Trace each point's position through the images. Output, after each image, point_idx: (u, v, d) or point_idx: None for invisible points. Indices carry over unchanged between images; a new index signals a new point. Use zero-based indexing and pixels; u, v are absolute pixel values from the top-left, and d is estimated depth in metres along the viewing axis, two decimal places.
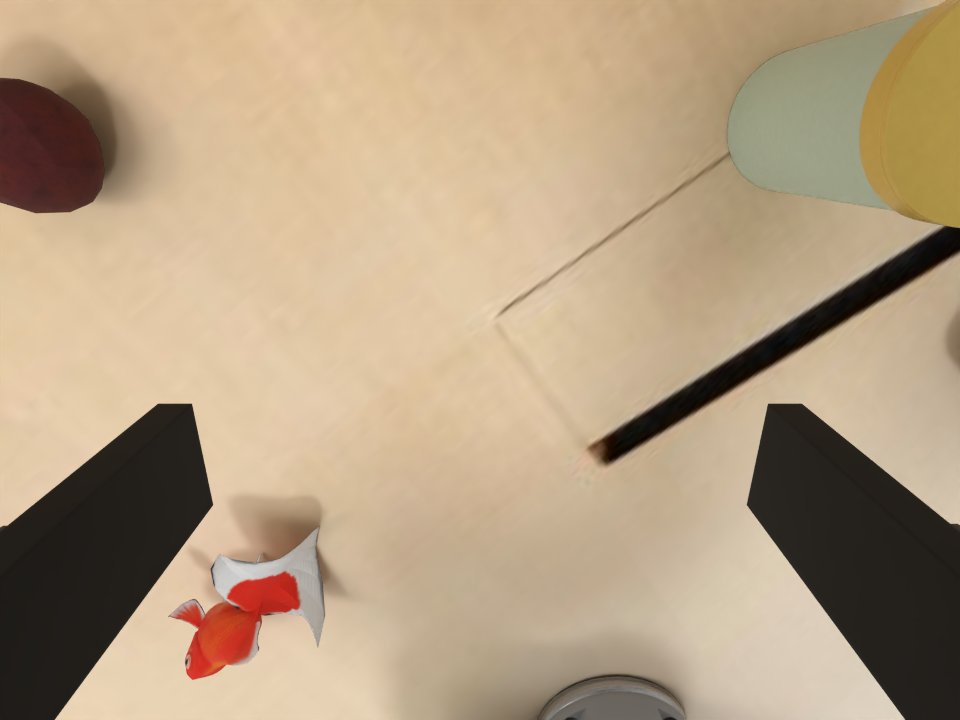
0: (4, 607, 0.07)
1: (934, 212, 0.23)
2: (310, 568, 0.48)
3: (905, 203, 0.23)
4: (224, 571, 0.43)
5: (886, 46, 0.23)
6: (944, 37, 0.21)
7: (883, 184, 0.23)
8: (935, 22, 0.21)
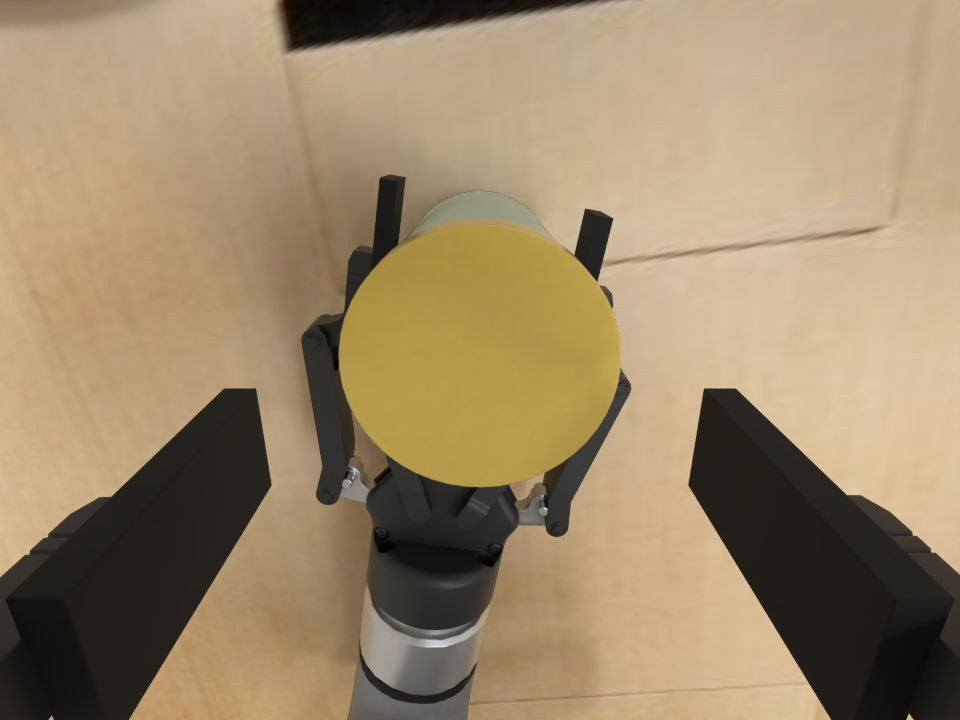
0: (123, 564, 0.08)
1: (589, 288, 0.17)
2: None
3: (613, 314, 0.17)
4: None
5: None
6: (526, 465, 0.19)
7: None
8: None
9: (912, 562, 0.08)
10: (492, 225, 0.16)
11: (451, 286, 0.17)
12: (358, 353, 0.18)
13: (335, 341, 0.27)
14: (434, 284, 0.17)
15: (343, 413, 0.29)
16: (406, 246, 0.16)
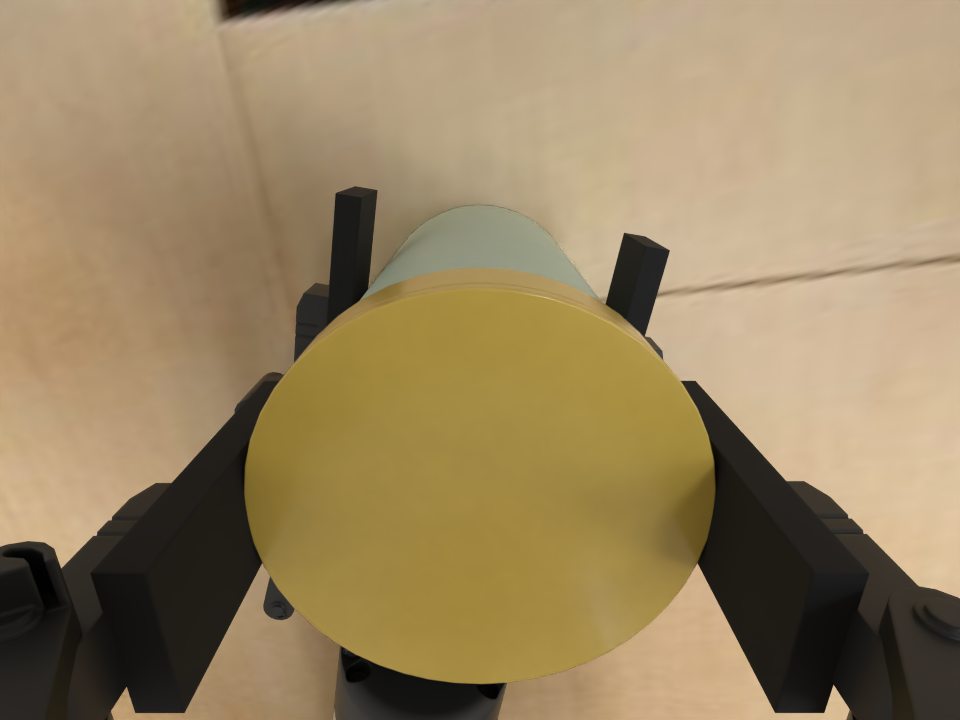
0: (190, 543, 0.09)
1: (668, 394, 0.10)
2: None
3: None
4: None
5: None
6: (553, 655, 0.12)
7: None
8: None
9: (835, 540, 0.08)
10: (502, 289, 0.09)
11: (430, 391, 0.10)
12: (276, 495, 0.11)
13: None
14: (401, 387, 0.10)
15: None
16: (350, 325, 0.09)
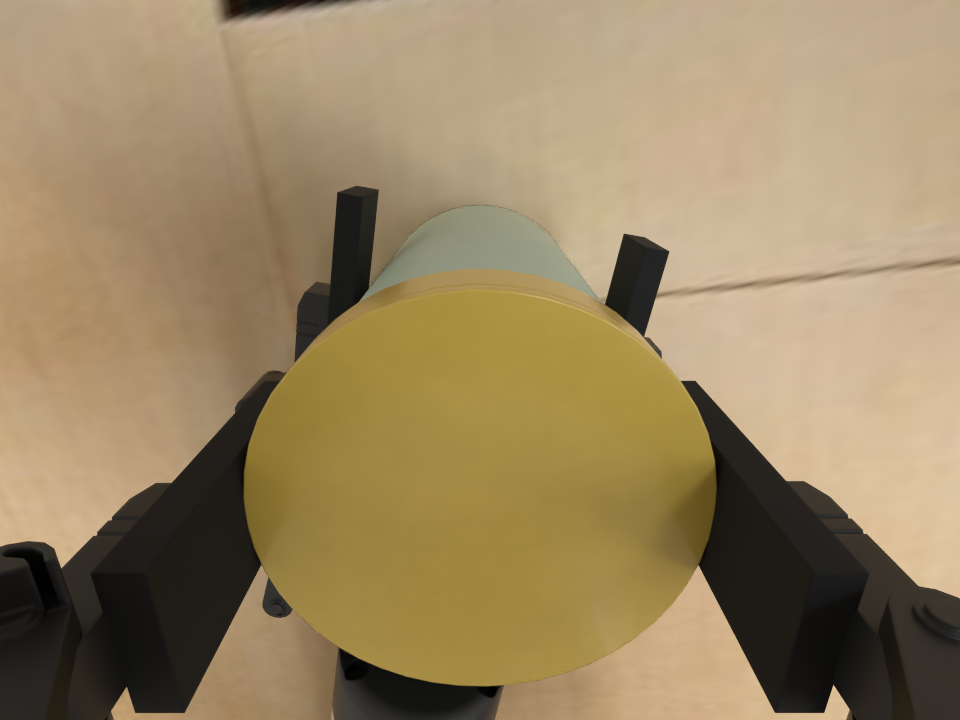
0: (190, 544, 0.09)
1: (285, 404, 0.10)
2: None
3: (315, 344, 0.10)
4: None
5: None
6: (652, 400, 0.10)
7: (368, 305, 0.10)
8: None
9: (835, 540, 0.08)
10: (257, 554, 0.11)
11: (365, 582, 0.11)
12: (506, 664, 0.12)
13: None
14: (370, 602, 0.11)
15: None
16: (332, 641, 0.12)
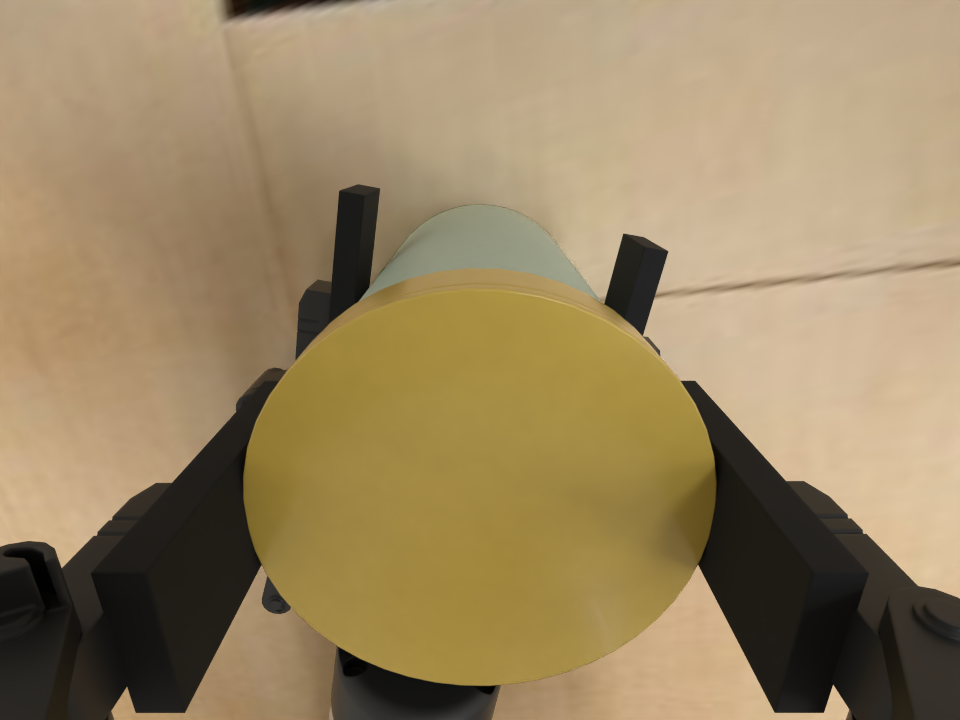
0: (190, 544, 0.09)
1: (414, 669, 0.12)
2: None
3: None
4: None
5: None
6: (295, 415, 0.10)
7: None
8: None
9: (834, 541, 0.08)
10: (573, 668, 0.12)
11: (584, 591, 0.11)
12: (674, 445, 0.10)
13: None
14: (608, 583, 0.11)
15: None
16: (668, 604, 0.12)
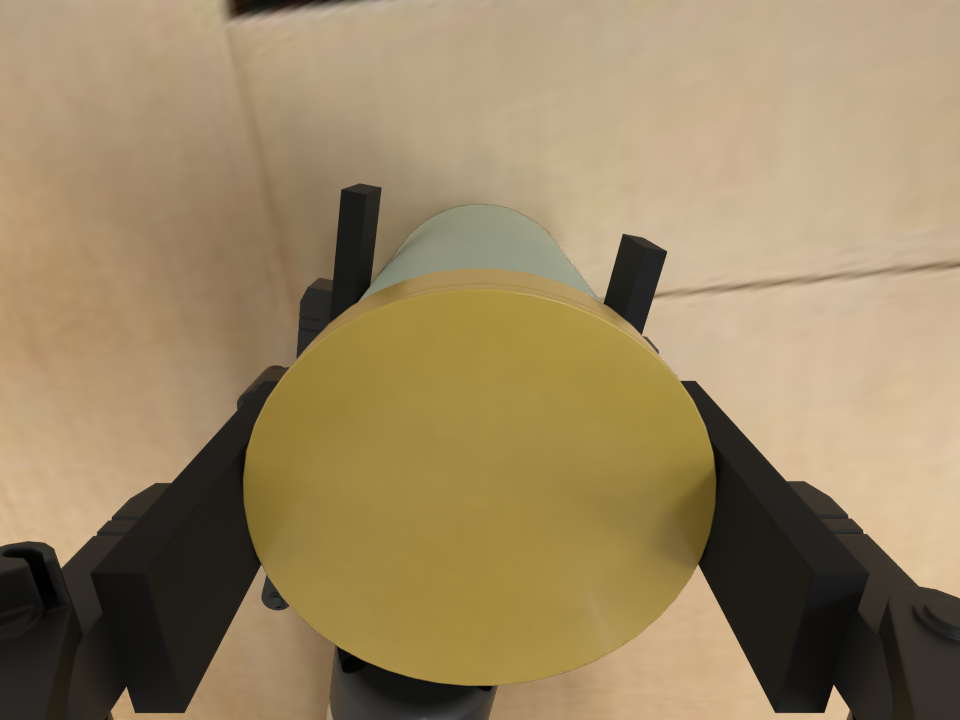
0: (190, 544, 0.09)
1: (696, 530, 0.11)
2: None
3: None
4: None
5: None
6: (422, 661, 0.12)
7: None
8: None
9: (835, 540, 0.08)
10: (669, 370, 0.10)
11: (545, 398, 0.10)
12: (334, 377, 0.10)
13: None
14: (527, 377, 0.10)
15: None
16: (540, 300, 0.09)
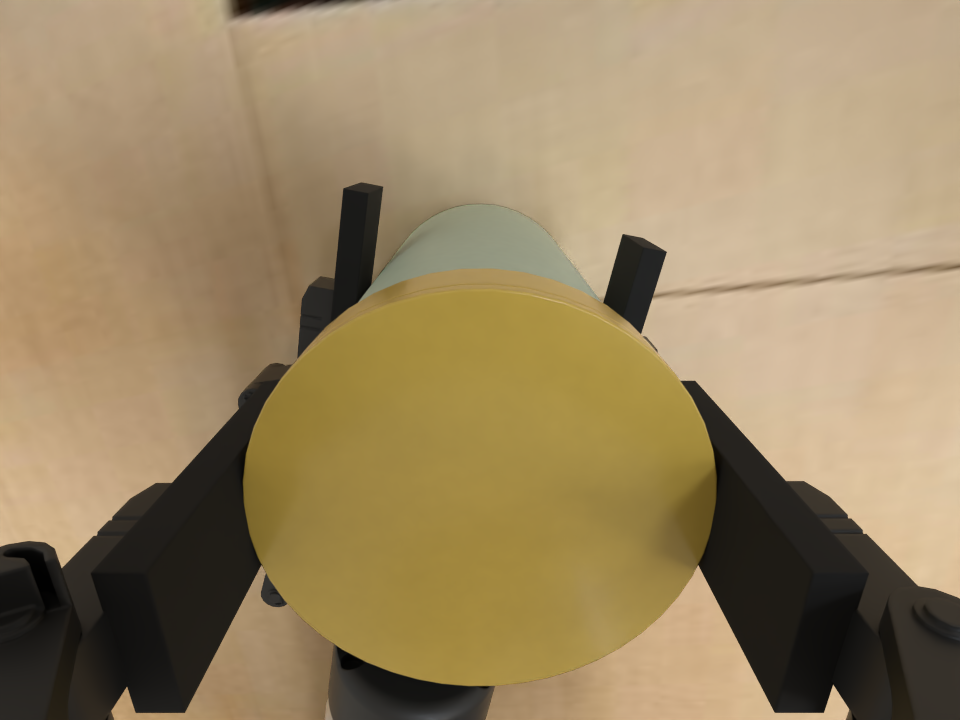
0: (190, 543, 0.09)
1: (426, 312, 0.09)
2: None
3: (496, 287, 0.09)
4: None
5: None
6: (684, 525, 0.11)
7: (551, 289, 0.10)
8: None
9: (834, 540, 0.08)
10: (262, 410, 0.10)
11: (333, 501, 0.11)
12: (379, 643, 0.12)
13: None
14: (320, 519, 0.11)
15: None
16: (250, 528, 0.11)
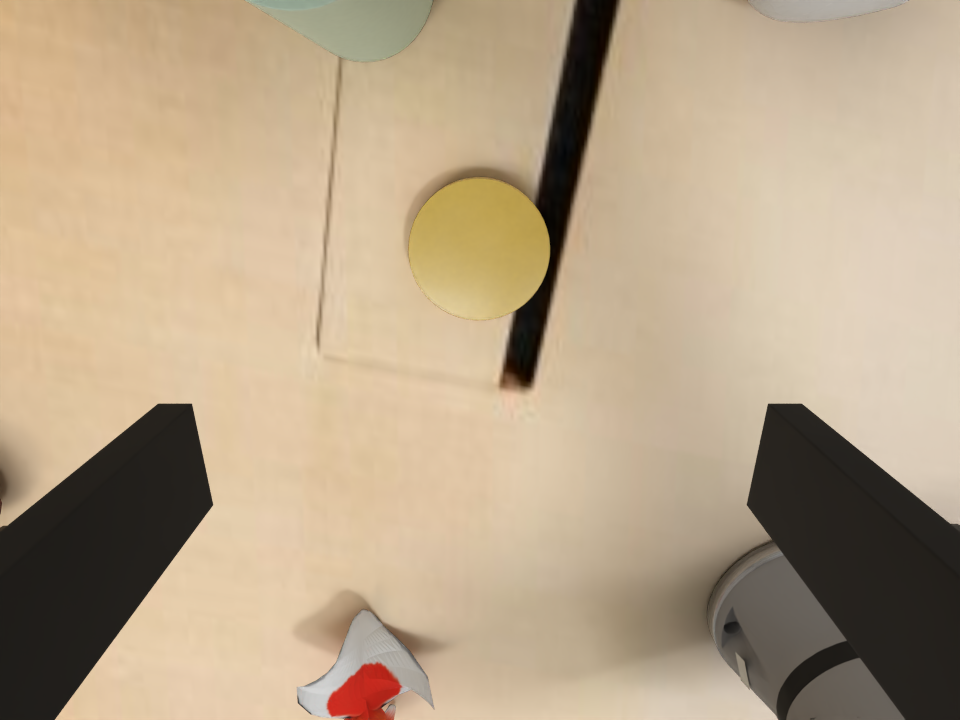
0: (4, 607, 0.07)
1: (464, 185, 0.34)
2: (390, 646, 0.48)
3: (483, 178, 0.34)
4: (310, 698, 0.45)
5: None
6: (540, 255, 0.36)
7: (499, 180, 0.35)
8: (548, 258, 0.36)
9: None
10: (417, 215, 0.35)
11: (435, 246, 0.35)
12: (446, 301, 0.37)
13: None
14: (431, 253, 0.36)
15: None
16: (409, 256, 0.36)
